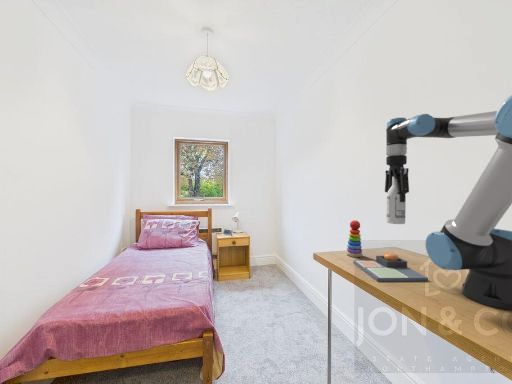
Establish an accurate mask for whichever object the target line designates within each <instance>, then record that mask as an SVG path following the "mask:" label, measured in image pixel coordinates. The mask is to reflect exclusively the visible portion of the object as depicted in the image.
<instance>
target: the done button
mask: <svg viewBox="0 0 512 384" xmlns="http://www.w3.org/2000/svg"><path fill="white" fill-rule="evenodd" d="M383 256H384V259H386V260H387V261H398V257H399V255H398V254H396V253H390V252H389V253H387V252H386V253H383Z"/></svg>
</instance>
